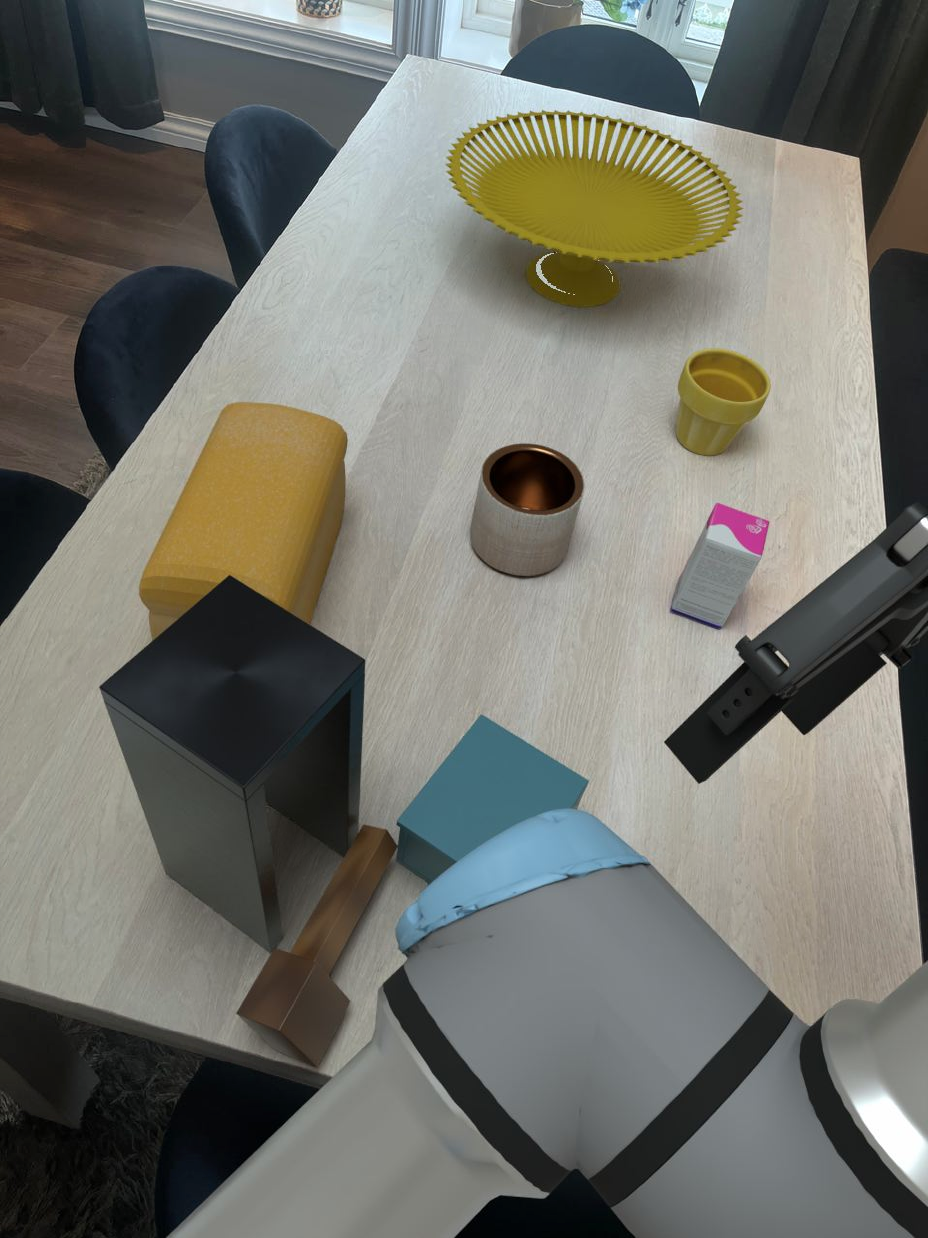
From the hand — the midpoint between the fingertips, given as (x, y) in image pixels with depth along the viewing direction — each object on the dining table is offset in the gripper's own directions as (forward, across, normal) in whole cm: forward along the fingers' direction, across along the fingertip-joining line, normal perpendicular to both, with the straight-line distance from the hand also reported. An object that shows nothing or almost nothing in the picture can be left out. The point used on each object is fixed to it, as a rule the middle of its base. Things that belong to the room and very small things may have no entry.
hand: (741, 737), depth 52 cm
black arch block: (+38, +4, -18) cm, 42 cm away
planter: (+21, -32, -36) cm, 53 cm away
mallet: (+35, +5, -10) cm, 37 cm away
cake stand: (+5, -67, -74) cm, 101 cm away
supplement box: (+14, -42, -20) cm, 49 cm away
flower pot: (+6, -60, -39) cm, 72 cm away
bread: (+34, -8, -45) cm, 57 cm away
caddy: (+30, -10, -10) cm, 33 cm away
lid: (+23, -6, -10) cm, 26 cm away
